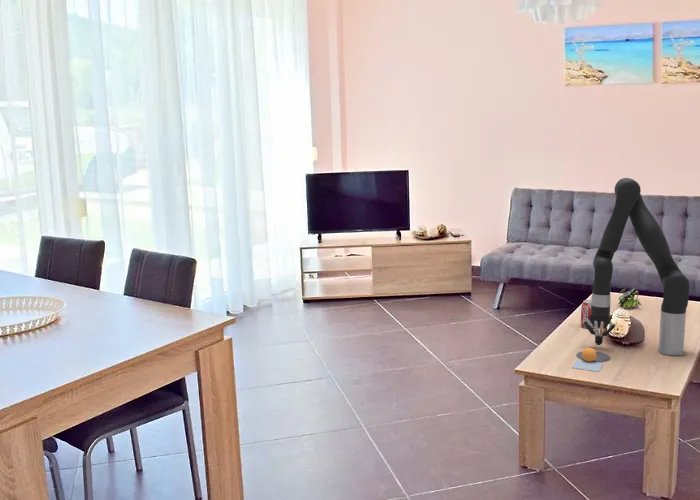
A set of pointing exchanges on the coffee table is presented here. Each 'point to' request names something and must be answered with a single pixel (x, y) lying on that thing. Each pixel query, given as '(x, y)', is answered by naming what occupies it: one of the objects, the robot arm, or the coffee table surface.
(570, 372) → the coffee table surface
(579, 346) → the coffee table surface
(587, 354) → the ball
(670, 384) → the coffee table surface
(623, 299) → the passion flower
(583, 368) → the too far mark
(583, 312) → the soda can
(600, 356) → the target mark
